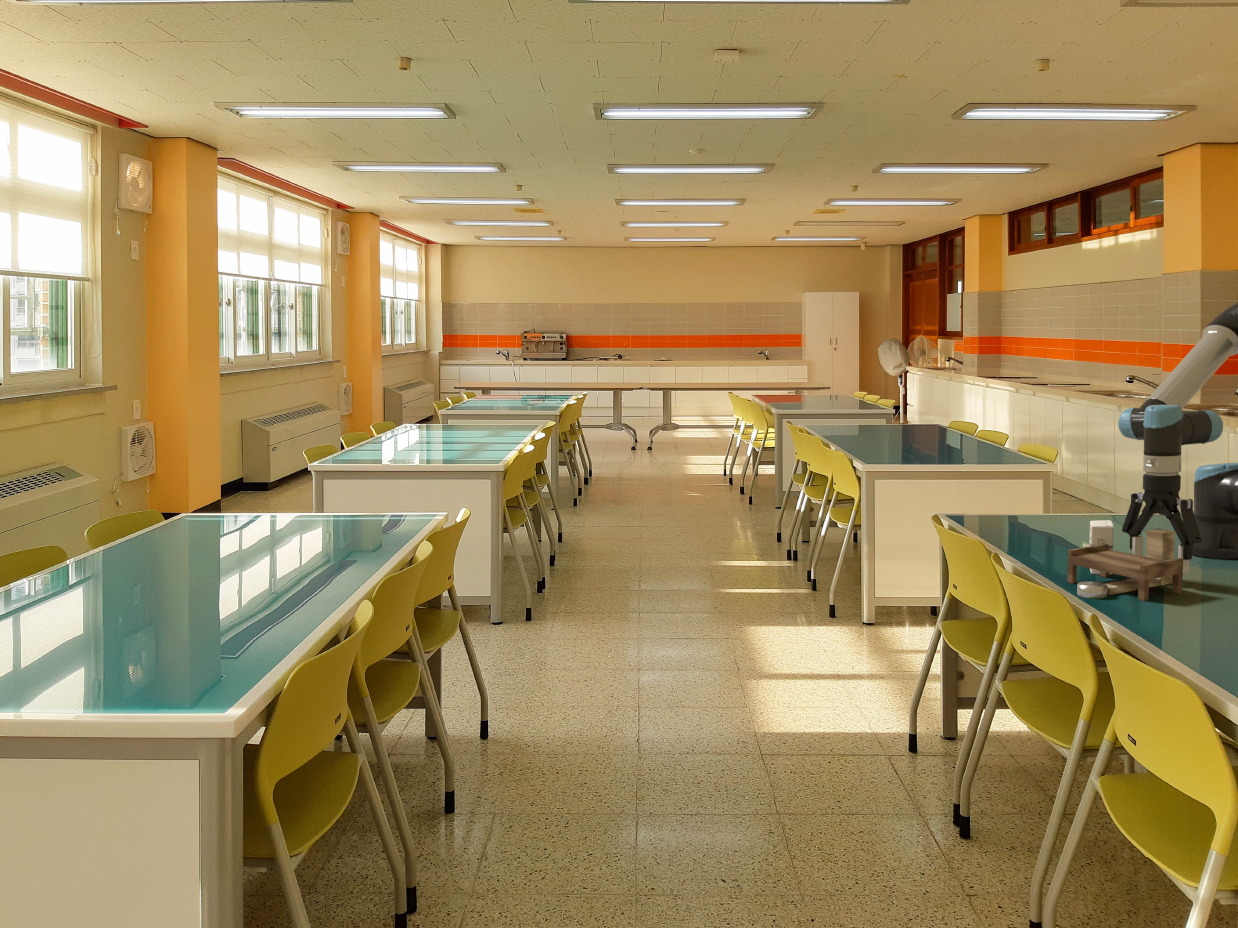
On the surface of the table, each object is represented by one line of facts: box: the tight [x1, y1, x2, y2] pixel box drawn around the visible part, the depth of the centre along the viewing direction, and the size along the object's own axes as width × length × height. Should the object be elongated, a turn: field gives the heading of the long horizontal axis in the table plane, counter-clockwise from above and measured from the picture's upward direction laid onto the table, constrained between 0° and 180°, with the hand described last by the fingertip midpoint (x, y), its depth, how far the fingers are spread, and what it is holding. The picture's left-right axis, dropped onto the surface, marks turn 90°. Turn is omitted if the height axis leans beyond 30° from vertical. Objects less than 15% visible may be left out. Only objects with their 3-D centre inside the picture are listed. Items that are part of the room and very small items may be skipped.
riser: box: [1067, 544, 1184, 602], centre depth 223 cm, size 12×20×8 cm, turn 24°
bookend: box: [1104, 528, 1176, 596], centre depth 223 cm, size 20×4×12 cm, turn 114°
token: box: [1076, 581, 1108, 600], centre depth 218 cm, size 6×6×2 cm
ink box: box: [1088, 519, 1114, 576], centre depth 239 cm, size 9×5×12 cm, turn 158°
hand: (1159, 568), depth 226 cm, fingers open, 11 cm apart
